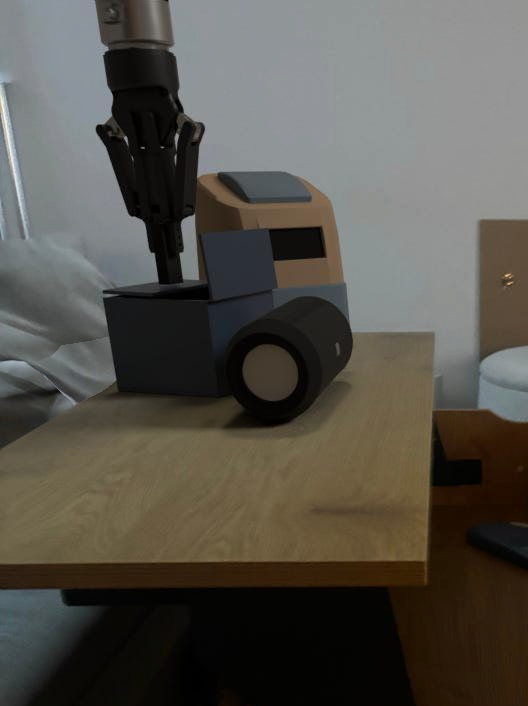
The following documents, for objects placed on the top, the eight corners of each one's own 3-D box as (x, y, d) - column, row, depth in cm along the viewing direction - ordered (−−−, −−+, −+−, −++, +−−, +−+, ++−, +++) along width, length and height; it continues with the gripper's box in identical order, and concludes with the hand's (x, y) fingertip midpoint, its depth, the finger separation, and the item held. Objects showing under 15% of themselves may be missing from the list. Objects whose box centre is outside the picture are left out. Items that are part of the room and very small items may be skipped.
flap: (102, 293, 111) (101, 290, 111) (175, 282, 123) (174, 278, 122) (152, 296, 109) (152, 292, 109) (222, 284, 121) (221, 281, 120)
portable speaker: (321, 427, 98) (313, 322, 93) (222, 427, 98) (210, 322, 94) (358, 379, 121) (353, 293, 116) (278, 379, 121) (270, 293, 117)
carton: (117, 390, 116) (91, 233, 108) (187, 370, 127) (167, 227, 120) (225, 398, 111) (205, 234, 104) (286, 376, 123) (272, 227, 115)
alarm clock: (251, 371, 126) (229, 171, 116) (197, 355, 138) (173, 172, 128) (362, 356, 135) (350, 170, 125) (302, 343, 147) (287, 171, 137)
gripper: (65, 49, 104) (104, 285, 114) (169, 42, 100) (200, 288, 110) (111, 56, 110) (144, 279, 120) (211, 50, 106) (236, 281, 116)
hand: (171, 283), depth 115 cm, fingers closed
